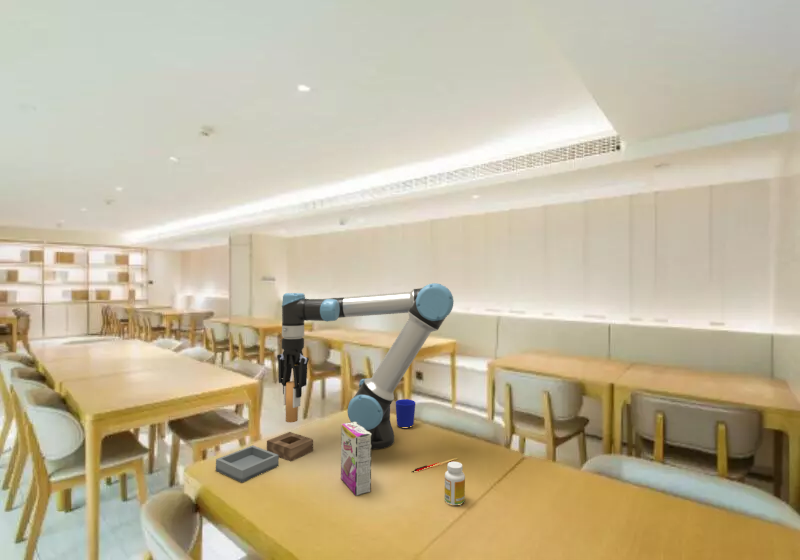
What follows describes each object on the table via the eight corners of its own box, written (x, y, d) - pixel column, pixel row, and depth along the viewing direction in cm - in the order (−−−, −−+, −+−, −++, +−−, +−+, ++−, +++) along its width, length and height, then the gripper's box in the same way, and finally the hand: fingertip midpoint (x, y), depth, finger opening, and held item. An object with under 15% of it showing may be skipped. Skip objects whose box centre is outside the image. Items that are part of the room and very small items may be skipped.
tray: (278, 466, 122) (278, 454, 122) (241, 482, 111) (242, 470, 111) (252, 455, 129) (252, 445, 129) (215, 470, 118) (216, 459, 119)
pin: (300, 419, 134) (300, 382, 134) (291, 423, 131) (291, 384, 131) (292, 417, 136) (292, 380, 137) (283, 421, 133) (283, 382, 133)
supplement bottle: (466, 498, 106) (466, 462, 106) (462, 508, 100) (463, 470, 101) (446, 494, 107) (447, 458, 108) (442, 504, 102) (442, 467, 102)
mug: (416, 420, 168) (416, 397, 168) (414, 430, 156) (414, 405, 156) (397, 419, 168) (397, 396, 169) (394, 429, 156) (394, 404, 157)
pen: (410, 473, 120) (410, 469, 120) (457, 459, 131) (457, 455, 131) (412, 474, 119) (412, 470, 119) (458, 460, 130) (458, 456, 130)
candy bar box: (339, 479, 115) (340, 423, 115) (354, 475, 117) (356, 420, 118) (355, 497, 105) (356, 436, 105) (371, 492, 108) (372, 432, 108)
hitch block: (313, 450, 134) (313, 439, 134) (290, 461, 126) (290, 448, 126) (289, 442, 141) (289, 431, 141) (266, 452, 132) (266, 440, 132)
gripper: (267, 336, 136) (266, 404, 135) (301, 340, 126) (300, 412, 126) (284, 334, 142) (283, 399, 141) (318, 338, 133) (317, 407, 132)
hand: (291, 405), depth 134 cm, fingers closed on pin, 4 cm apart
